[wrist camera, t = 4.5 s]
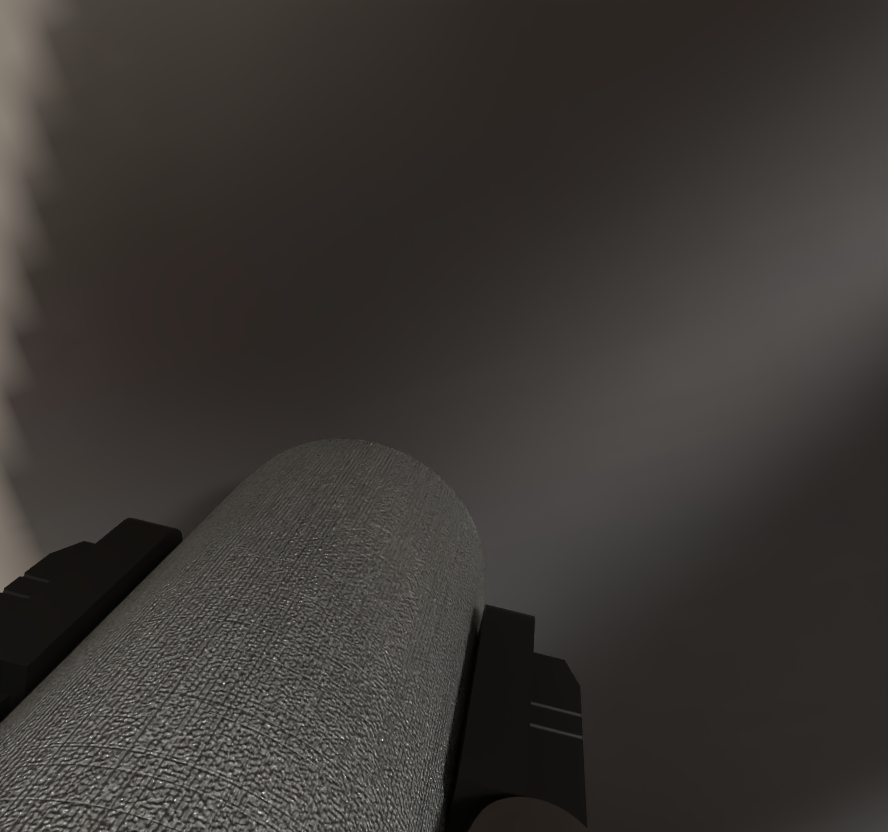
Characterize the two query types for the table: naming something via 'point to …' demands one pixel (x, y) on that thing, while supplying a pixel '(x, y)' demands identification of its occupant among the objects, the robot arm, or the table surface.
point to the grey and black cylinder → (270, 666)
